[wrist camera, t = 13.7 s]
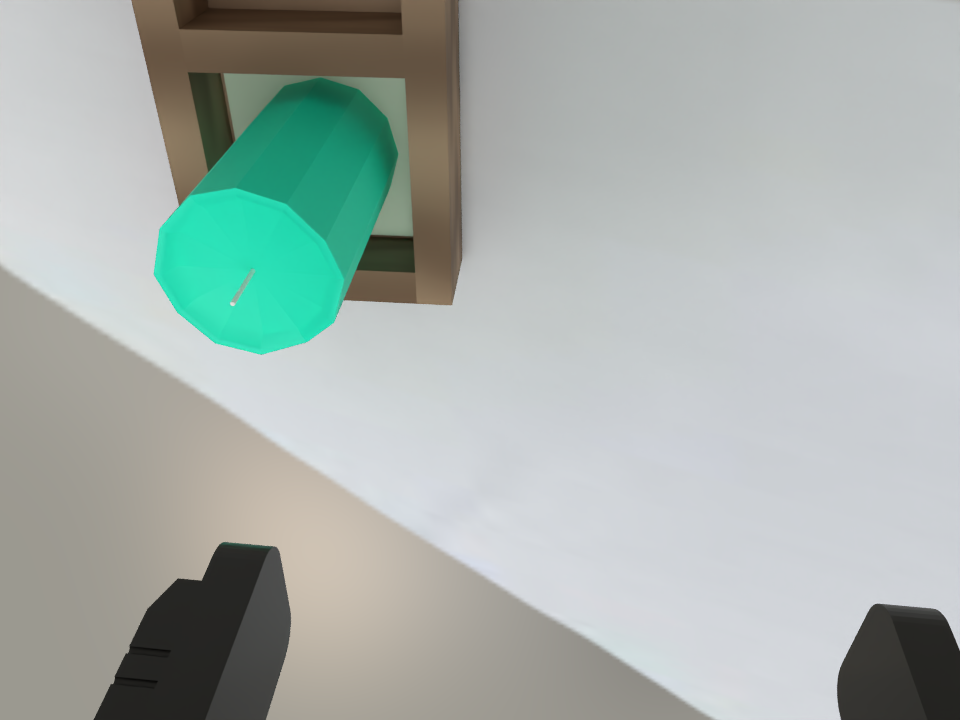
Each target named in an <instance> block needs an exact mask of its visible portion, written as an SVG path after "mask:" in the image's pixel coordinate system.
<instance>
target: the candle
mask: <svg viewBox="0 0 960 720" xmlns="http://www.w3.org/2000/svg"><path fill="white" fill-rule="evenodd" d="M397 159H398V150H397V147H396V144H395V141H394V138H393V134H392V131H391V128H390V125H389V121H388V118H387V117H386V116H385V115H384V114H383V113H382V112H381V111H380V110H379V109H378V108H377V107H376V106H375V105H374V104H373V103H372V102H371V101H370V100H369V99H368V98H367V97H366V96H365V95H364V94H363V93H362V92H361V91H360V90H359V89H356V88H353V87H350V86H346V85H343V84H340V83H337V82H334V81H331V80H328V79H324V78H321V77H320V78H315V79H311V80H307V81H302V82H298V83H293V84H289V85H285V86H284V87H283V88H282V89H281V90H280V91H279V92H278V93H277V94H276V95H275V96H274V98H273V99H272V100H271V101H270V102H269V103H268V104H267V105H266V106H265V107H264V109H263V110H262V111H261V112H260V113H259V114H258V115H257V117H256V118H255V119H254V120H253V121H252V122H251V123H250V125H249V126H248V127H247V128H246V129H245V130H244V132H243V133H242V134H241V135H240V136H239V137H238V139H237V140H236V141H235V142H234V143H233V144H232V145H231V147H230V148H229V149H228V150H227V151H226V152H225V154H224V155H223V156H222V157H221V158H220V159H219V161H218V162H217V163H216V164H215V165H214V166H213V167H212V169H211V170H210V171H209V172H208V173H207V174H206V176H205V177H204V178H203V179H202V180H201V181H200V183H199V184H198V185H197V186H196V187H195V188H194V189H193V191H192V192H191V193H190V194H189V195H188V196H187V198H186V199H185V200H184V201H183V202H182V203H181V205H180V206H179V207H178V208H177V209H176V210H175V211H174V213H173V214H172V215H171V216H170V217H169V218H168V220H167V221H166V222H165V223H164V224H163V225H162V227H161V228H160V230H159V238H158V245H157V253H156V261H155V268H154V276H155V277H156V279H157V281H158V282H159V284H160V285H161V287H162V289H163V290H164V292H165V293H166V295H167V297H168V298H169V300H170V301H171V303H172V305H173V306H174V308H175V310H176V311H177V313H179V314H180V315H181V316H182V317H184V318H185V319H186V320H187V321H188V322H190V323H191V324H192V325H193V326H195V327H196V328H197V329H198V330H199V331H201V332H202V333H203V334H204V335H206V336H207V337H208V338H209V339H210V340H212V341H213V342H214V343H216V344H220V345H224V346H228V347H232V348H236V349H240V350H245V351H249V352H253V353H257V354H261V355H262V354H266V353H269V352H273V351H277V350H280V349H284V348H287V347H291V346H295V345H298V344H302V343H306V342H308V341H309V340H310V339H312V338H313V337H315V336H316V335H317V334H319V333H320V332H322V331H323V330H324V329H326V328H327V327H329V326H330V325H331V324H333V323H334V321H335V319H336V317H337V314H338V312H339V309H340V307H341V305H342V302H343V300H344V297H345V295H346V293H347V290H348V288H349V285H350V283H351V281H352V278H353V276H354V273H355V271H356V269H357V266H358V264H359V261H360V259H361V257H362V254H363V252H364V249H365V247H366V245H367V242H368V240H369V237H370V235H371V233H372V230H373V228H374V225H375V223H376V221H377V218H378V216H379V213H380V211H381V209H382V206H383V204H384V201H385V199H386V197H387V194H388V192H389V189H390V187H391V183H392V179H393V175H394V171H395V167H396V163H397Z"/></svg>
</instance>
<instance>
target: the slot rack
mask: <svg viewBox="0 0 960 720" xmlns="http://www.w3.org/2000/svg"><path fill="white" fill-rule="evenodd" d="M131 1H132V5H133V9H134V13H135V18H136V22H137V26H138V31H139V35H140V39H141V44H142V48H143V52H144V56H145V61H146V65H147V69H148V74H149V78H150V82H151V87H152V91H153V95H154V99H155V104H156V108H157V112H158V117H159V121H160V125H161V129H162V134H163V138H164V142H165V147H166V151H167V155H168V160H169V164H170V168H171V172H172V177H173V181H174V185H175V190H176V194H177V198H178V203H179V206H180V205H181V203H182V202H183V201H184V200H185V199H186V198H187V196H188V195H189V194H190V193H191V192H192V191H193V189H194V188H195V187H196V186H197V185H198V184H199V183H200V181H201V180H202V179H203V178H204V177H205V176H206V174H207V173H208V172H209V171H210V170H211V169H212V167H213V166H214V165H215V164H216V163H217V162H218V161H219V159H220V158H221V157H222V156H223V155H224V154H225V152H226V151H227V150H228V149H229V148H230V147H231V145H232V144H233V143H234V142H235V141H236V140H237V139H238V137H239V136H240V135H241V134H242V133H243V132H244V130H245V129H246V128H247V127H248V126H249V125H250V123H251V122H252V121H253V120H254V119H255V118H256V117H257V115H258V114H259V113H260V112H261V111H262V110H263V109H264V107H265V106H266V105H267V104H268V103H269V102H270V101H271V100H272V99H273V98H274V96H275V95H276V94H277V93H278V92H279V91H280V90H281V89H282V88H283V87H284V86H285V85H289V84H293V83H298V82H302V81H307V80H311V79H315V78H320V77H321V78H324V79H328V80H331V81H334V82H337V83H340V84H343V85H346V86H350V87H353V88H356V89H359V90H360V91H361V92H362V93H363V94H364V95H365V96H366V97H367V98H368V99H369V100H370V101H371V102H372V103H373V104H374V105H375V106H376V107H377V108H378V109H379V110H380V111H381V112H382V113H383V114H384V115H385V116H386V117H387V118H388V121H389V125H390V128H391V131H392V134H393V138H394V141H395V144H396V147H397V150H398V159H397V163H396V167H395V171H394V175H393V179H392V183H391V187H390V189H389V192H388V194H387V197H386V199H385V201H384V204H383V206H382V209H381V211H380V213H379V216H378V218H377V221H376V223H375V225H374V228H373V230H372V233H371V235H370V237H369V240H368V242H367V245H366V247H365V249H364V252H363V254H362V257H361V259H360V261H359V264H358V266H357V269H356V271H355V273H354V276H353V278H352V281H351V283H350V285H349V288H348V290H347V293H346V295H345V297H344V300H353V301H374V302H394V303H415V304H436V305H452V303H453V298H454V294H455V289H456V284H457V280H458V275H459V271H460V266H461V261H462V222H461V153H460V85H459V17H458V0H131Z"/></svg>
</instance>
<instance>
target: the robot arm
mask: <svg viewBox="0 0 960 720" xmlns="http://www.w3.org/2000/svg"><path fill="white" fill-rule="evenodd" d="M290 627H291V613H290V607H289V601H288V595H287V590H286V585H285V579H284V574H283V568H282V563H281V558H280V553H279V550H278V549H277V547H273V546H262V545H251V544H239V543H229V542H223V543H221V544H220V545H219V546H218V547H217V549H216V551H215V552H214V554H213V556H212V559H211V561H210V563H209V566H208V568H207V570H206V572H205V575H204V577H203V579H202V581H198V580H188V579H177V580H176V581H175V582H174V583H173V584H172V585H171V586H170V587H169V588H168V589H167V590H166V591H165V592H164V593H163V594H162V595H161V596H160V597H159V598H158V599H157V600H156V601H155V602H154V603H153V604H152V605H151V606H150V607H149V608H148V609H147V611H146V613H145V615H144V617H143V619H142V621H141V623H140V625H139V627H138V630H137V632H136V634H135V636H134V638H133V640H132V642H131V644H130V650H129V653H128V654H126V655H125V657H124V658H123V660H122V662H121V665H120V667H119V669H118V671H117V673H116V675H115V681H114V684H111V685H110V687H109V689H108V691H107V693H106V695H105V698H104V700H103V702H102V704H101V706H100V708H99V710H98V712H97V714H96V716H95V718H94V720H266V717H267V714H268V711H269V708H270V704H271V701H272V698H273V695H274V691H275V688H276V685H277V682H278V679H279V676H280V672H281V669H282V666H283V663H284V660H285V656H286V652H287V648H288V643H289V637H290ZM837 698H838V707H839V712H840V717H841V720H960V650H959V648H958V645H957V643H956V640H955V638H954V636H953V633H952V631H951V628H950V626H949V624H948V622H947V620H946V618H945V617H944V615H943V614H942V613H941V612H939V611H938V610H936V609H931V608H920V607H909V606H898V605H887V604H875V605H873V606H872V607H871V608H870V610H869V612H868V613H867V615H866V617H865V619H864V621H863V623H862V625H861V627H860V629H859V631H858V633H857V635H856V637H855V639H854V641H853V643H852V645H851V647H850V649H849V651H848V653H847V655H846V657H845V659H844V661H843V663H842V665H841V667H840V671H839V675H838V683H837Z"/></svg>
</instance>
